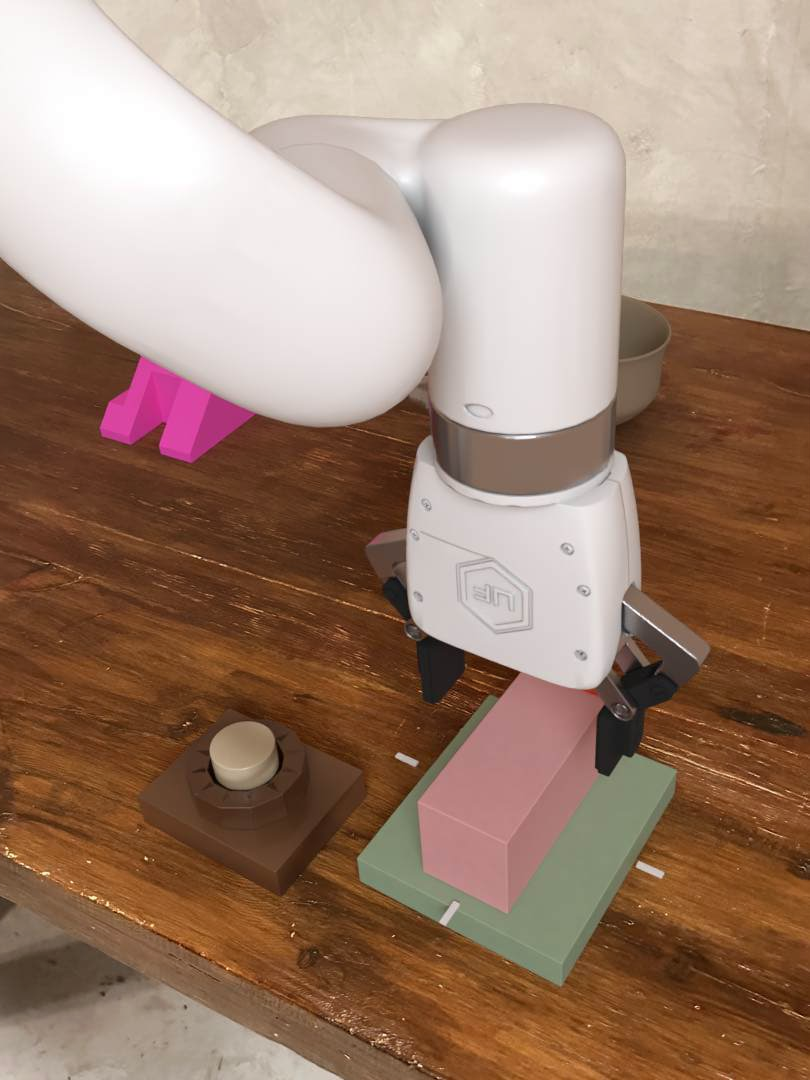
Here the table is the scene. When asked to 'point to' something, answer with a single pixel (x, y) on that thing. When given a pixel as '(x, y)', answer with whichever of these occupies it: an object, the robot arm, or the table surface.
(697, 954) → the table surface
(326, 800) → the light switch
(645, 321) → the bowl
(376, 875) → the green mat
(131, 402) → the bracket
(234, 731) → the button
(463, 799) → the pink bar
